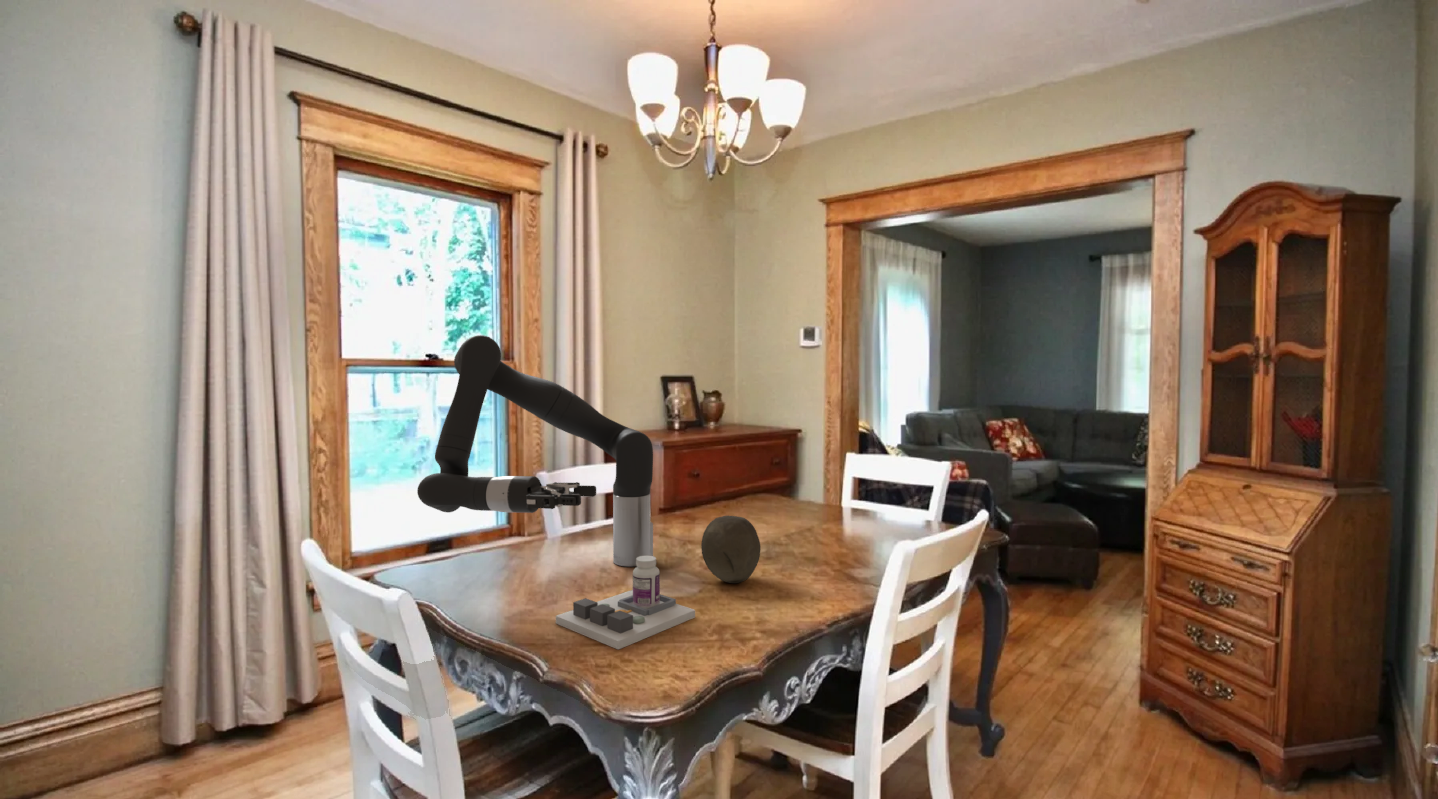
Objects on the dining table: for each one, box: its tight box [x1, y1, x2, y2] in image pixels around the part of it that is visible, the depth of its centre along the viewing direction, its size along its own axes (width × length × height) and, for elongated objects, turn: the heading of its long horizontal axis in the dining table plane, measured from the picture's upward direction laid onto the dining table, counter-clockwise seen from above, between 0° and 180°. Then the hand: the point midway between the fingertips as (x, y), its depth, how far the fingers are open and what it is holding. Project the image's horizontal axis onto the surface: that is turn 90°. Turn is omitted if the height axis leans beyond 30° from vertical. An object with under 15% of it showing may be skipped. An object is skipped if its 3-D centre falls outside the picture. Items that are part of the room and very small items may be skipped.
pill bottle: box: [632, 555, 661, 609], centre depth 136 cm, size 5×5×10 cm
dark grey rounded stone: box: [700, 515, 761, 584], centre depth 156 cm, size 14×14×15 cm
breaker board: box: [555, 589, 696, 650], centre depth 132 cm, size 20×18×4 cm
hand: (588, 495), depth 139 cm, fingers open, 8 cm apart
